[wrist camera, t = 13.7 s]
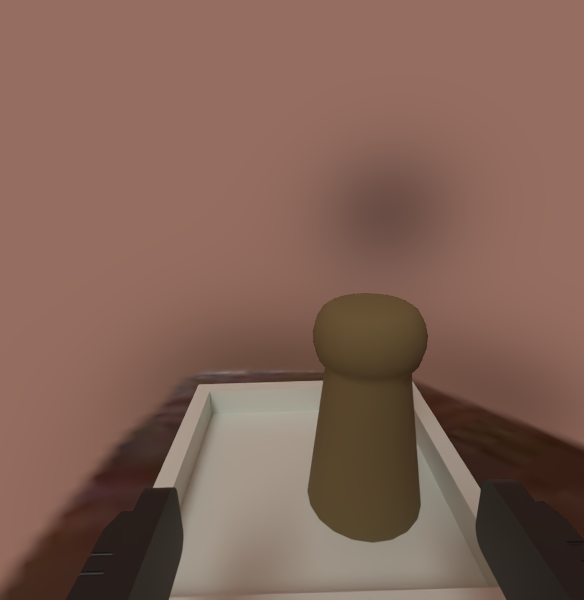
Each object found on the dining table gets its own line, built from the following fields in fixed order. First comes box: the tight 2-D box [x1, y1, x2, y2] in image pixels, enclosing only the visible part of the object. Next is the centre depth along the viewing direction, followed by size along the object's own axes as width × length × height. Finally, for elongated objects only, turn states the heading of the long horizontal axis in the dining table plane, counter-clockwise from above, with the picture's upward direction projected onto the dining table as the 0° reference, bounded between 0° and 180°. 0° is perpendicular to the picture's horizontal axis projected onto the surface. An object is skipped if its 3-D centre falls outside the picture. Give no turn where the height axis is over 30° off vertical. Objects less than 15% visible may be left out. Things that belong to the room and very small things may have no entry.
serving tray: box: [153, 381, 506, 600], centre depth 20 cm, size 16×16×2 cm
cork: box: [307, 293, 428, 543], centre depth 18 cm, size 6×6×11 cm
